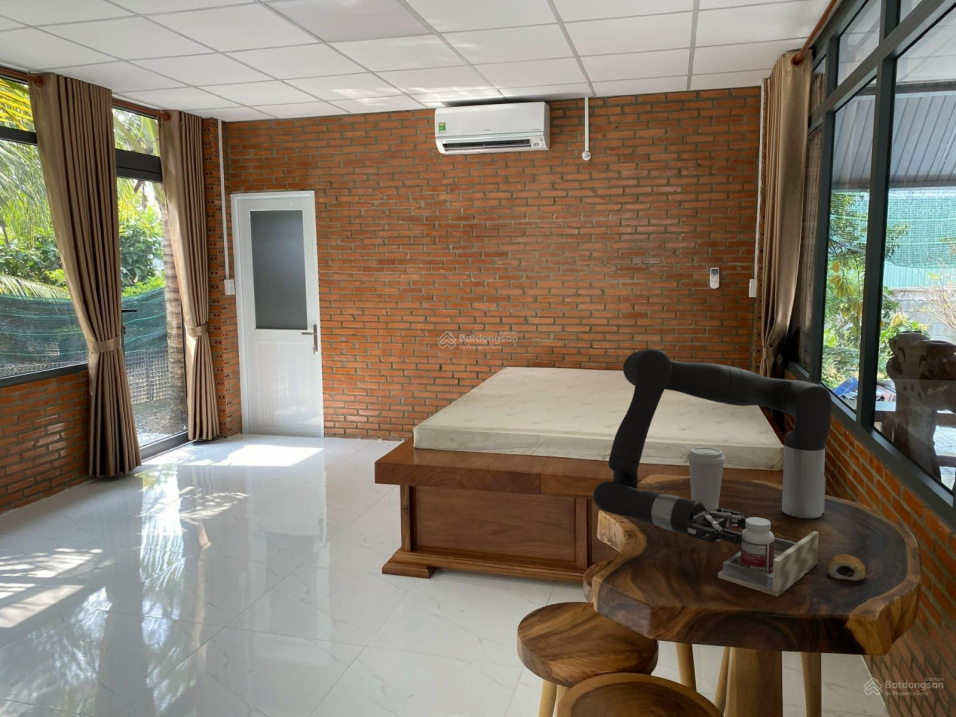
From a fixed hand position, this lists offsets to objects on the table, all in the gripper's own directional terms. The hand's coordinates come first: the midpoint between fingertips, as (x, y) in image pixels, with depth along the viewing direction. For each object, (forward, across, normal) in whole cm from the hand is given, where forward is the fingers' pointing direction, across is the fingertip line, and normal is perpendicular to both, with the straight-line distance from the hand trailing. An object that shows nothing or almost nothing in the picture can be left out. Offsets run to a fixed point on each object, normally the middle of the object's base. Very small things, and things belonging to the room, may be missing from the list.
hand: (751, 533), depth 142 cm
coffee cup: (-26, +32, +9) cm, 42 cm away
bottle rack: (+2, +5, +9) cm, 10 cm away
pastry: (+13, +15, +10) cm, 22 cm away
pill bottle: (+2, 0, +8) cm, 8 cm away
